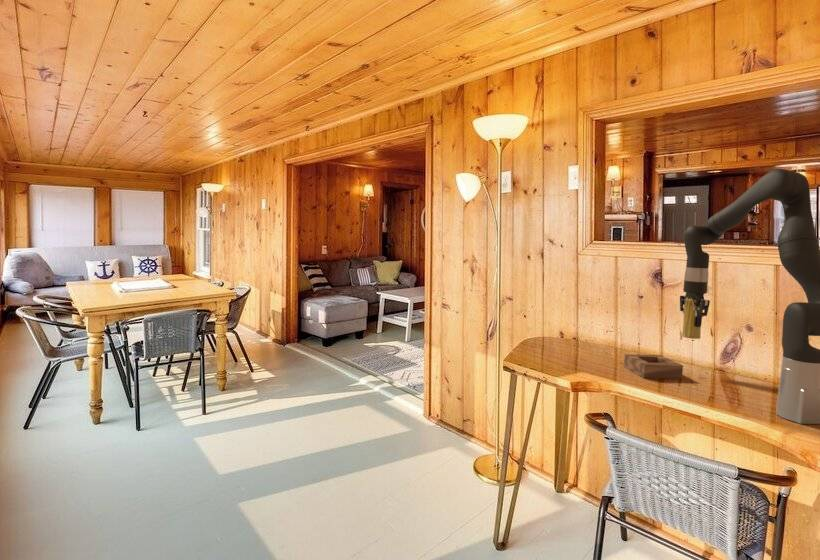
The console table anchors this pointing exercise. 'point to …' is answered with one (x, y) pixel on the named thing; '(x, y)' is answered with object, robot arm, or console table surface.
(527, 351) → the console table surface
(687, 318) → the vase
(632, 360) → the bore block
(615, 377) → the console table surface
